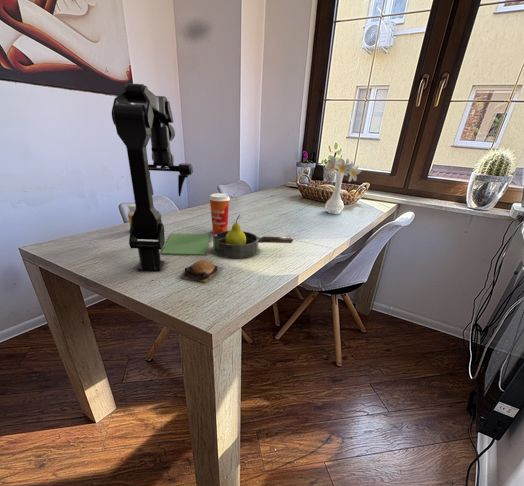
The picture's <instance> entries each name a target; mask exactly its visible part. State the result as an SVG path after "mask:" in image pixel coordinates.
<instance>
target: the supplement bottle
mask: <svg viewBox="0 0 524 486" xmlns="http://www.w3.org/2000/svg"><path fill="white" fill-rule="evenodd" d="M127 208H128V211H127V217H128V223H129V228H130V227H131V223H132V222H131V218H132V216H133V214H134V211H135V209H136V206H135V203H129V204H128V205H127Z"/></svg>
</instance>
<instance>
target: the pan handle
mask: <svg viewBox="0 0 524 486" xmlns="http://www.w3.org/2000/svg"><path fill="white" fill-rule="evenodd" d="M257 239H259V242H258V244H259V243H261V244H262V243H266V244H267V243H268V244H269V243H270V244H292V243H293V242H294V238H293V237H292V236H262V237H261V236H257V237H256V240H257Z"/></svg>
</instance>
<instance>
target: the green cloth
mask: <svg viewBox="0 0 524 486" xmlns="http://www.w3.org/2000/svg"><path fill="white" fill-rule="evenodd" d="M209 239H210V234H203V233H202V234H200V233H199V234H197V233H196V234H195V233H170V236H169V237H168V240H167V242H166V243H165V245H164V246H163V248H162V251H161V254H160V255H174V256H175V255H179V256H180V255H181V256H182V255H183V256H206V254H207V250H208V245H209Z"/></svg>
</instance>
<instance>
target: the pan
mask: <svg viewBox="0 0 524 486" xmlns="http://www.w3.org/2000/svg"><path fill="white" fill-rule="evenodd" d="M229 231H230V230H227V231H224V232H219V233H217V234H214V235H213V236H212V251H213V252H214V253H215V254H217V255H218V256H221V257H224V258H229V259H244V258H245V259H246V258H250V257H253V256H255V255H256V254H257V253H258V252H259V243H258V242H259V239H257V240H256V237H258V236H257V235H256V234H255V233H252V232H250V231H249V232H248V231H245V230H244V231H242V230H241V231H242V232H243V233H244V234H245V236H246V244H245V245H231V244H226V234H227V233H228V232H229Z"/></svg>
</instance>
